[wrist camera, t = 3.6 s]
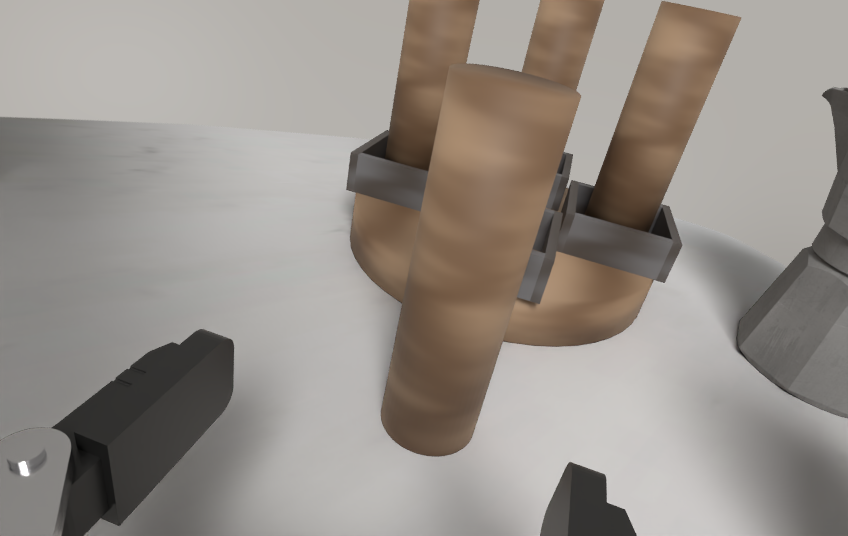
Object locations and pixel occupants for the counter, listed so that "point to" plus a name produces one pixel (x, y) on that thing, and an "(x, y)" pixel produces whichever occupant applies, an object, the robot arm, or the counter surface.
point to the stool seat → (566, 208)
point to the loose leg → (472, 248)
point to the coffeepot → (810, 302)
